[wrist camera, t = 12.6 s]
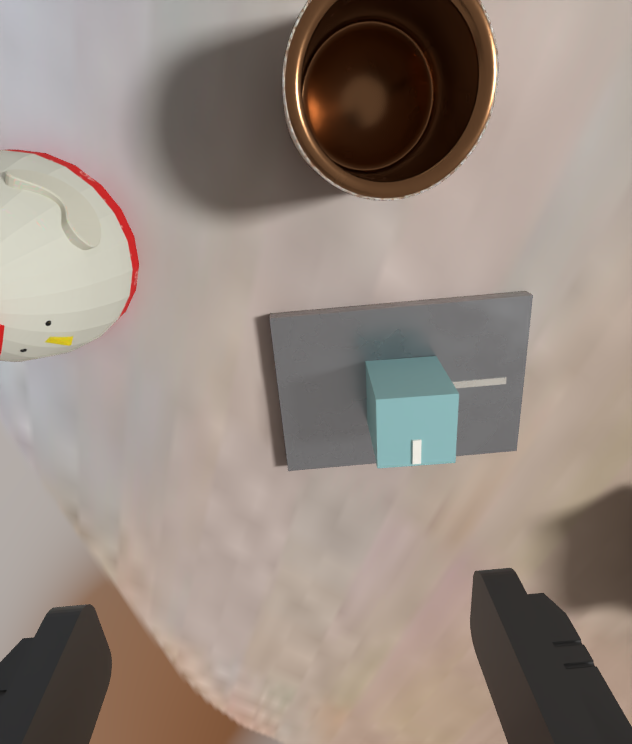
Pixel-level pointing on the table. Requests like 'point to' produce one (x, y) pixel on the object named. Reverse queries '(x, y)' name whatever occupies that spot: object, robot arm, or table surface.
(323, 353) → the shaft plate
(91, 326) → the kitchen timer
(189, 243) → the table surface
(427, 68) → the planter
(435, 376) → the teal plastic block
